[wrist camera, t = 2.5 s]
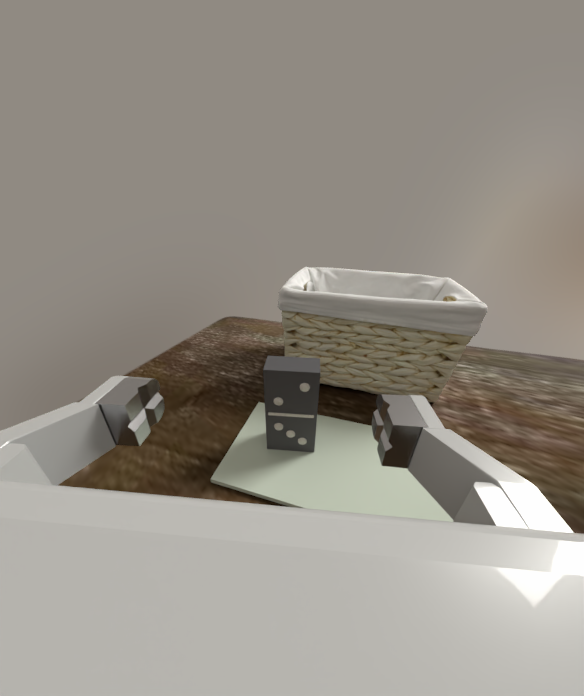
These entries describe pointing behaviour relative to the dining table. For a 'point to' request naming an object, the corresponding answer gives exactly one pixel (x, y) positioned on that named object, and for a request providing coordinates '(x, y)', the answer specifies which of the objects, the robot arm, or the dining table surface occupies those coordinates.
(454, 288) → the storage basket
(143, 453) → the dining table surface
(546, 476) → the dining table surface
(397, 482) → the mat
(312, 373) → the domino
